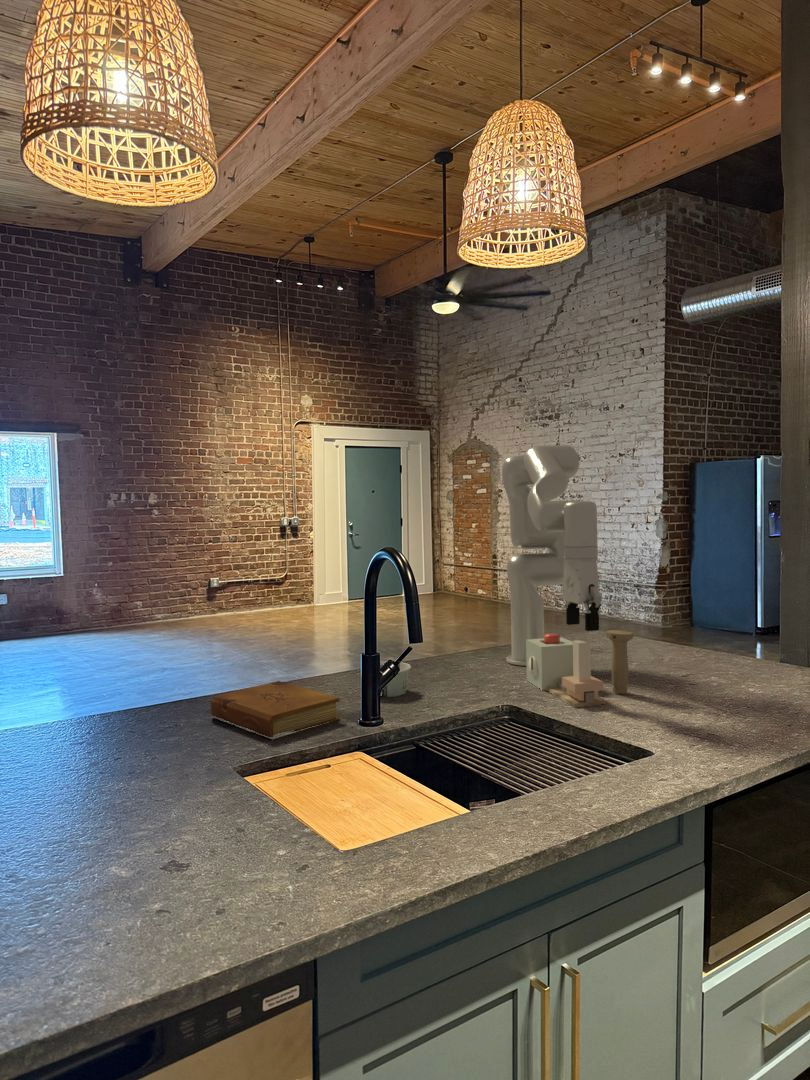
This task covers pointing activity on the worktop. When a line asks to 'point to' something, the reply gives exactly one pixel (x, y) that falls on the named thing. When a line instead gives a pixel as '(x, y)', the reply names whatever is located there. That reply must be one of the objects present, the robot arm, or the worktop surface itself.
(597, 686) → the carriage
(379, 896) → the worktop surface
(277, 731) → the diary
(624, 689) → the handle
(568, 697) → the rail
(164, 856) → the worktop surface
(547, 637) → the button
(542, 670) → the gauge cabinet
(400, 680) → the food container
